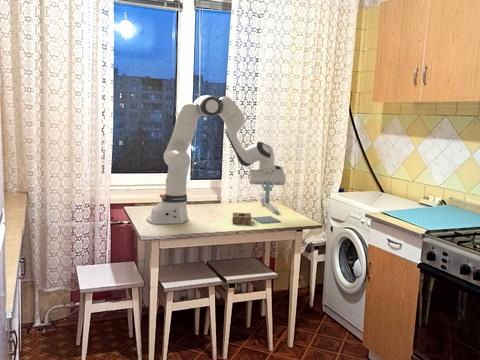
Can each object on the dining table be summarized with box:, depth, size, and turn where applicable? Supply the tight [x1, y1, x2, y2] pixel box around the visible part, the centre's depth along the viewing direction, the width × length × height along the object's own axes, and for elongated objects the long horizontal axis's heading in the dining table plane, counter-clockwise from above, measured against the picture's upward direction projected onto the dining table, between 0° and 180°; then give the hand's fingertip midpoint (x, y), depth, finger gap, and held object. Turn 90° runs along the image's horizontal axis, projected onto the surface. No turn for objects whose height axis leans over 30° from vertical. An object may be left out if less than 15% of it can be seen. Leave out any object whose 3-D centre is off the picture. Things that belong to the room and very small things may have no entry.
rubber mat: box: [251, 215, 281, 225], centre depth 260 cm, size 12×12×1 cm
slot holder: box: [232, 212, 252, 226], centre depth 254 cm, size 10×10×4 cm
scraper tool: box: [264, 181, 271, 203], centre depth 258 cm, size 2×3×12 cm, turn 1°
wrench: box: [259, 192, 280, 215], centre depth 288 cm, size 8×2×30 cm
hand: (267, 190), depth 257 cm, fingers closed on scraper tool, 2 cm apart
